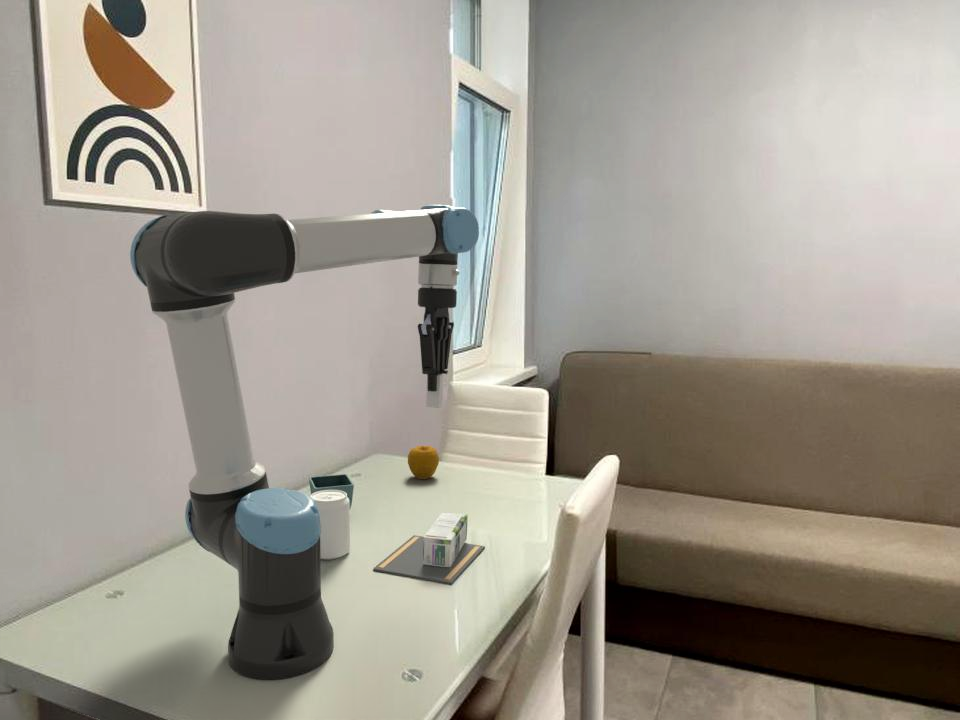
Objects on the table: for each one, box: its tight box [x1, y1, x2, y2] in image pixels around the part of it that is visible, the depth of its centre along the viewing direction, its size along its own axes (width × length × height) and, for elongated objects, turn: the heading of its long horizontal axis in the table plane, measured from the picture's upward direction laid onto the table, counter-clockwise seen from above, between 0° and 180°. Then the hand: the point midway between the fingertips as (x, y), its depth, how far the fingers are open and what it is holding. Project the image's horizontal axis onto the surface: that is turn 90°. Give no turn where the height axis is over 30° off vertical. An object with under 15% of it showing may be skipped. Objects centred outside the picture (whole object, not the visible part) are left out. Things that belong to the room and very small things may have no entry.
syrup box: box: [423, 512, 468, 567], centre depth 141 cm, size 6×6×14 cm
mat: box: [372, 534, 486, 585], centre depth 139 cm, size 18×16×1 cm
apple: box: [407, 445, 440, 480], centre depth 193 cm, size 8×8×9 cm
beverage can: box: [309, 490, 351, 560], centre depth 141 cm, size 8×8×12 cm
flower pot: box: [308, 473, 355, 509], centre depth 160 cm, size 9×9×9 cm
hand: (434, 406), depth 140 cm, fingers closed
